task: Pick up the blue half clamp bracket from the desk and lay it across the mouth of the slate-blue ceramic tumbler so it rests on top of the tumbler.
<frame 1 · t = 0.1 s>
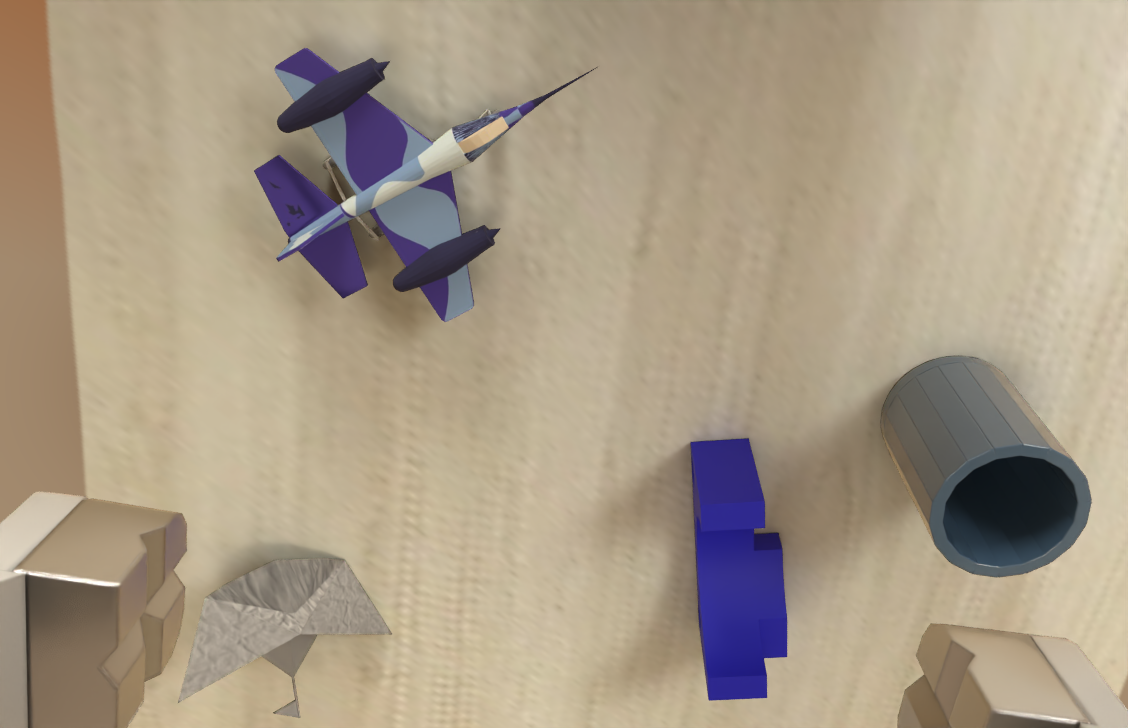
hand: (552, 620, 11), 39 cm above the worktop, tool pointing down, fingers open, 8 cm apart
tumbler: (948, 415, 54), on the worktop
toy airplane: (421, 157, 49), on the worktop
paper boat: (291, 601, 60), on the worktop
blue half clamp bracket: (736, 533, 57), on the worktop
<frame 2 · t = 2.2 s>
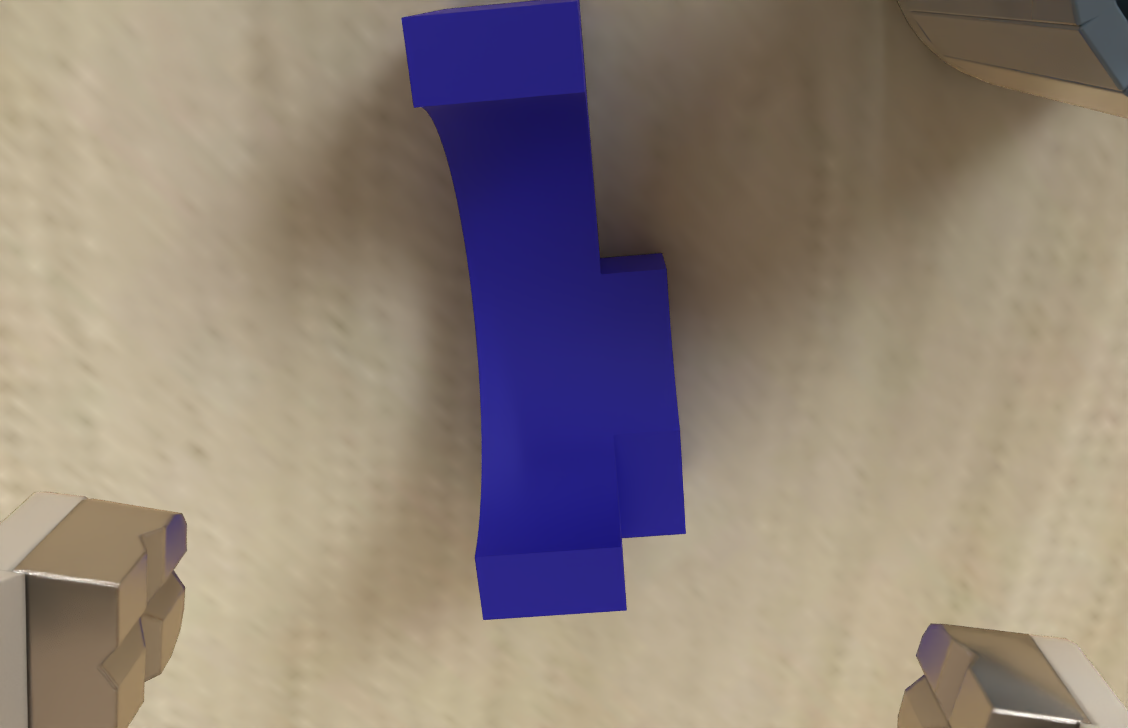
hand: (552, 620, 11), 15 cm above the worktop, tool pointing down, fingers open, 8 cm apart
blue half clamp bracket: (569, 258, 26), on the worktop
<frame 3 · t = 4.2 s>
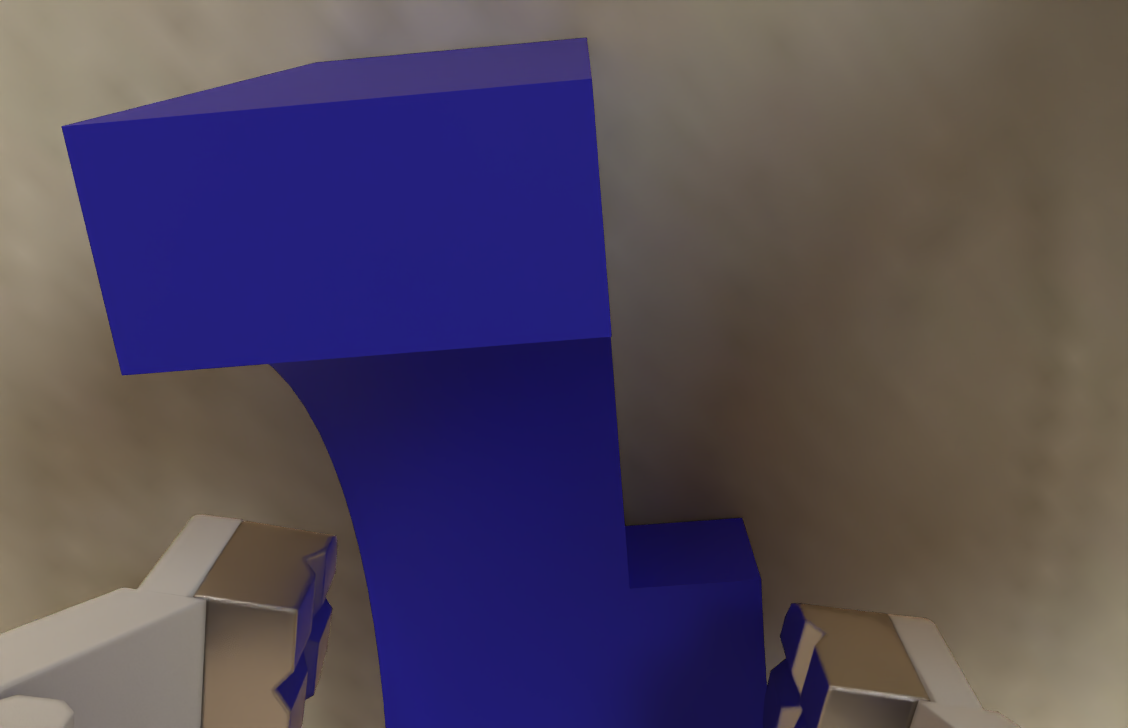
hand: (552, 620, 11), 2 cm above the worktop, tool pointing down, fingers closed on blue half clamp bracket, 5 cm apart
blue half clamp bracket: (566, 522, 14), on the worktop, touching gripper
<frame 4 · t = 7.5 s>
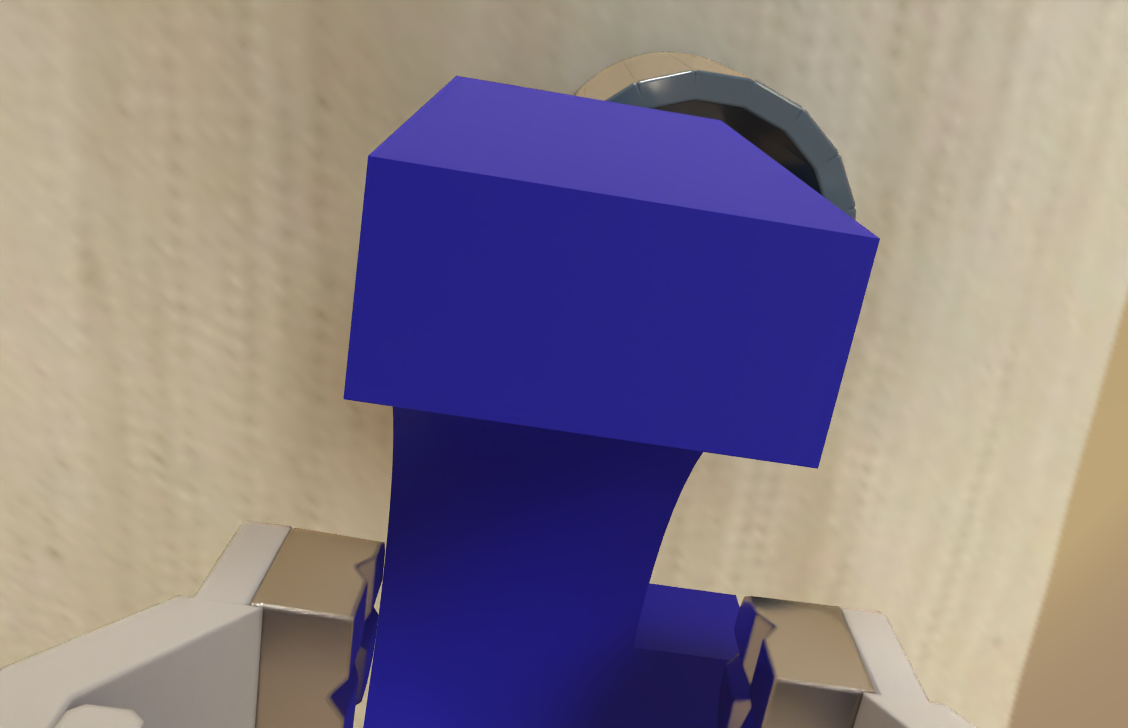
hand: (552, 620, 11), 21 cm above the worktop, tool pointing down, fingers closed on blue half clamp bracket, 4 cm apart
tumbler: (662, 173, 31), on the worktop
blue half clamp bracket: (567, 564, 14), point 18 cm above the worktop, touching gripper
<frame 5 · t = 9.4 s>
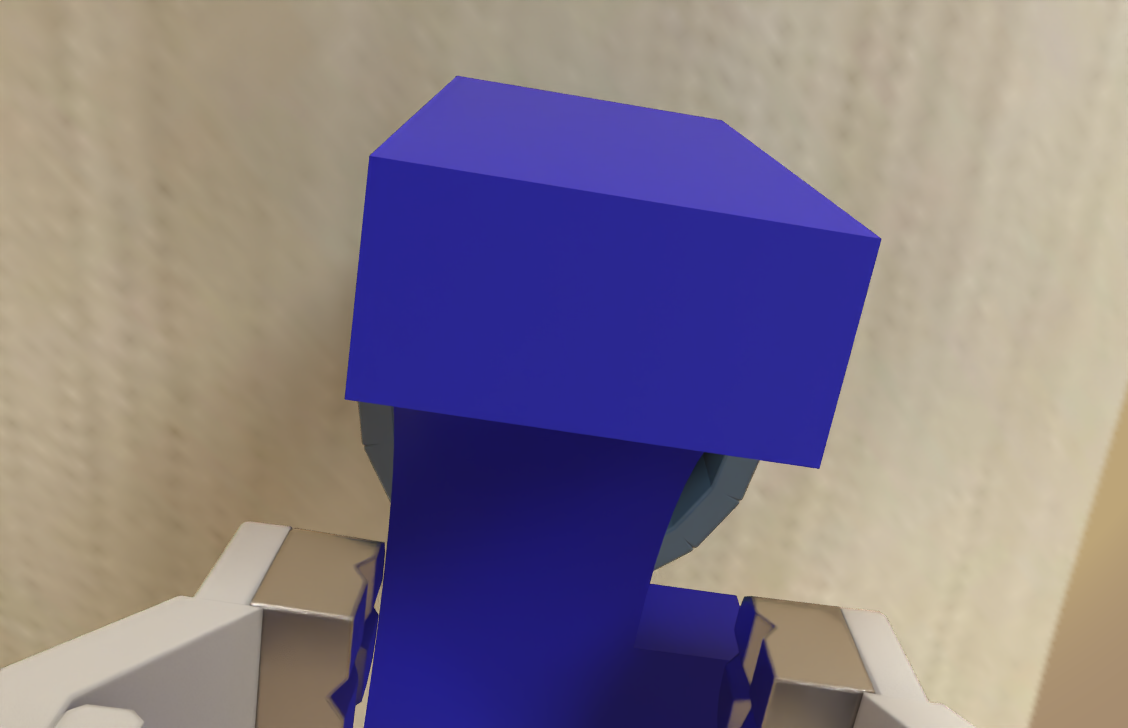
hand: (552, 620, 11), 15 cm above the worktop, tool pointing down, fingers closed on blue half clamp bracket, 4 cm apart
tumbler: (570, 273, 26), on the worktop
blue half clamp bracket: (568, 564, 14), point 13 cm above the worktop, touching gripper
when the fingers open (11 cm above the worktop, at t = 10.9 s): blue half clamp bracket stays where it is, resting on tumbler.
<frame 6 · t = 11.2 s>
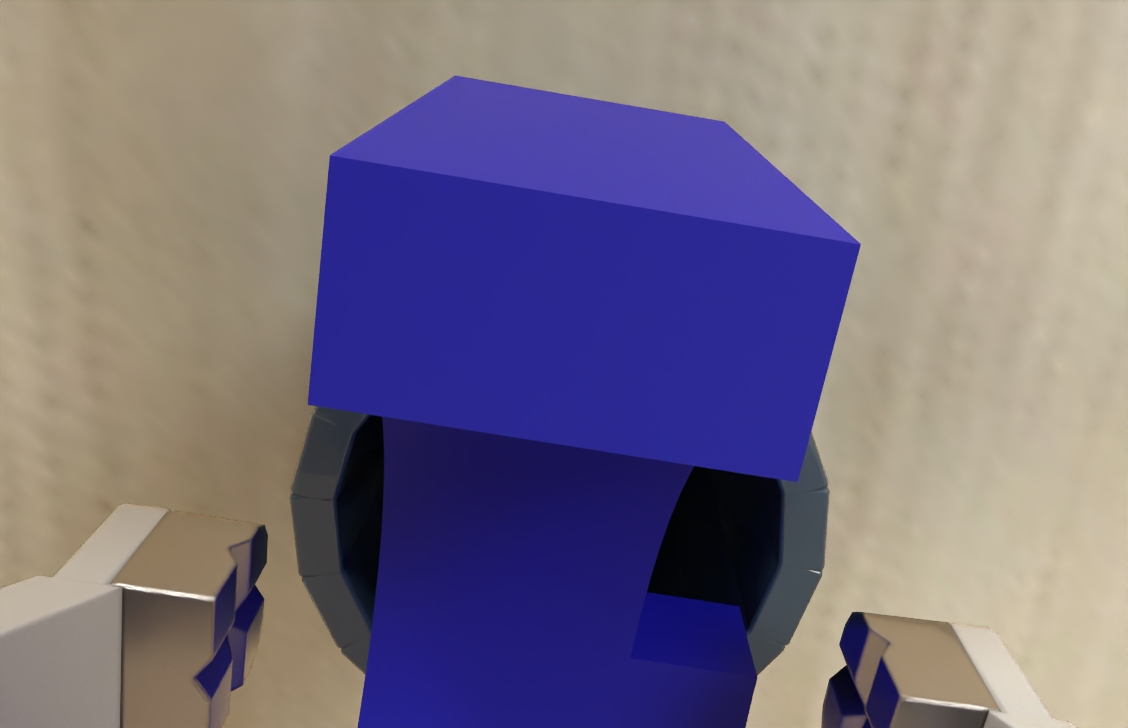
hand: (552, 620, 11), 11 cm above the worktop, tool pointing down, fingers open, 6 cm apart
tumbler: (568, 324, 22), on the worktop
blue half clamp bracket: (568, 572, 14), point 9 cm above the worktop, touching tumbler
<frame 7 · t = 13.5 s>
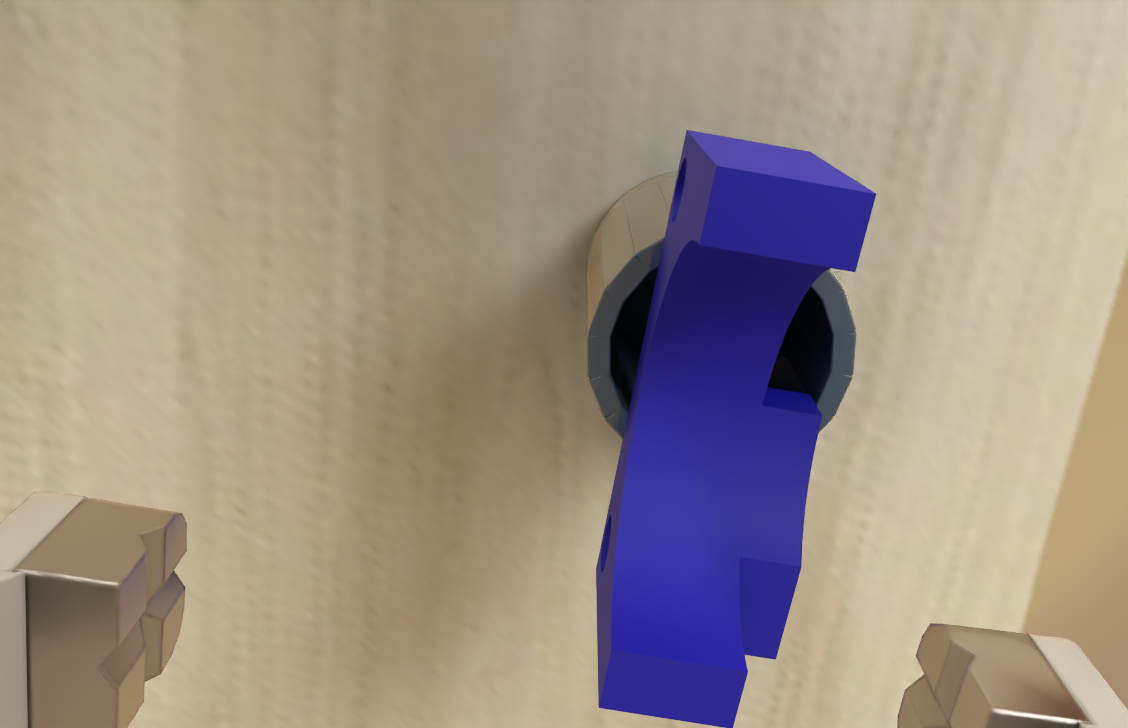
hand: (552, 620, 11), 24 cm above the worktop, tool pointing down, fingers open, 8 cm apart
tumbler: (688, 271, 35), on the worktop
blue half clamp bracket: (723, 377, 27), point 9 cm above the worktop, touching tumbler
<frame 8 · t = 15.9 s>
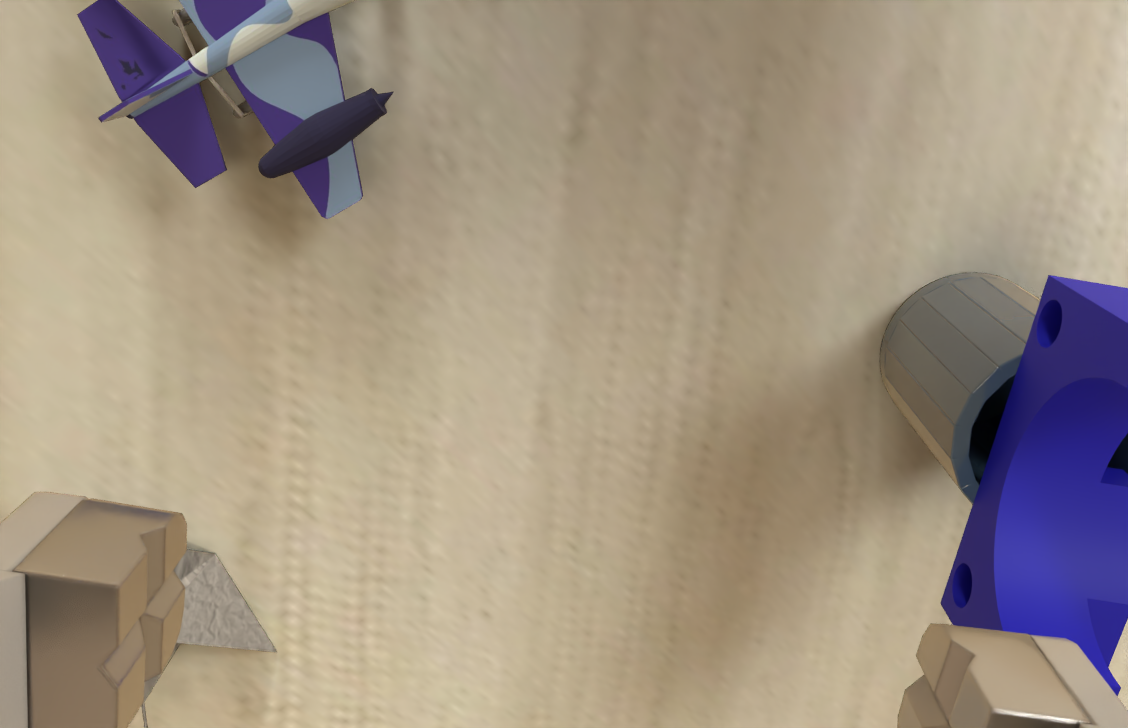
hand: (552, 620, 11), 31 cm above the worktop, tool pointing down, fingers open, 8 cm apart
tumbler: (963, 352, 43), on the worktop
toy airplane: (299, 15, 39), on the worktop
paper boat: (150, 610, 48), on the worktop
blue half clamp bracket: (1054, 456, 35), point 9 cm above the worktop, touching tumbler
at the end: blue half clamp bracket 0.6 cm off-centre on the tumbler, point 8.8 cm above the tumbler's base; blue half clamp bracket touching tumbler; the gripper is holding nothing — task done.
